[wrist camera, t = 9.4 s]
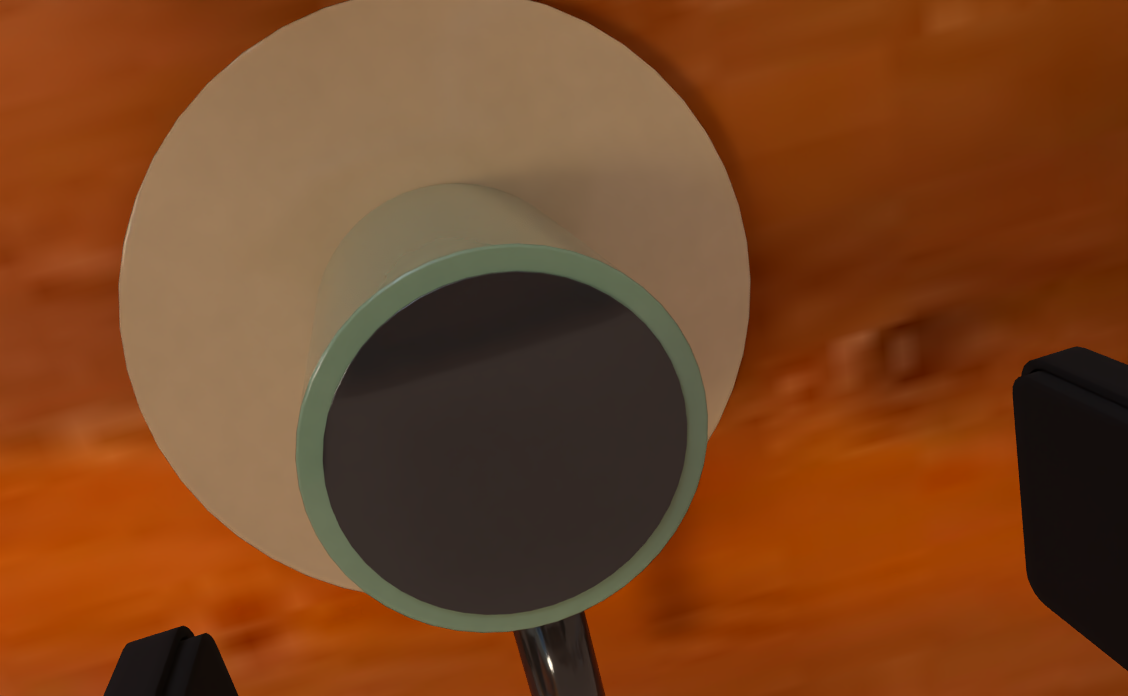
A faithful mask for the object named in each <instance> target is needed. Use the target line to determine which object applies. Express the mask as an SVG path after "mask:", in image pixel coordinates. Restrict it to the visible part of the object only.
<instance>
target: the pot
mask: <svg viewBox="0 0 1128 696" xmlns="http://www.w3.org/2000/svg"><path fill="white" fill-rule="evenodd" d="M118 287H119V326H120V333H121V339H122V345H123V350H124V356H125V362H126V368H127V372H128V375H129V378H130V381H131V384H132V387H133V390H134V393H135V396H136V399H137V402H138V405H139V408H140V411H141V413H142V415H143V417H144V419H145V421H146V423H147V425H148V427H149V429H150V431H151V433H152V435H153V437H154V439H155V441H156V443H157V445H158V447H159V449H160V450H161V452H162V453H163V455H164V456H165V458H166V459H167V461H168V462H169V463H170V465H171V466H172V468H173V469H174V471H175V472H176V474H177V475H178V477H179V478H180V480H181V481H182V482H183V483H184V484H185V485H186V487H187V488H188V489H189V490H190V491H191V492H192V493H193V494H194V496H195V497H196V498H197V499H198V500H199V501H200V502H201V503H202V504H203V506H204V507H205V508H206V509H207V510H208V511H209V512H210V513H211V514H213V515H214V516H215V517H216V518H217V519H218V520H220V521H221V522H222V523H223V524H224V525H225V526H227V527H228V528H229V529H230V530H231V531H232V532H234V533H235V534H236V535H237V536H238V537H240V538H241V539H243V540H244V541H246V542H247V543H249V544H250V545H252V546H253V547H255V548H256V549H258V550H260V551H261V552H263V553H264V554H266V555H267V556H269V557H270V558H272V559H274V560H276V561H278V562H280V563H282V564H284V565H286V566H288V567H290V568H292V569H294V570H297V571H299V572H301V573H303V574H305V575H307V576H310V577H313V578H316V579H319V580H322V581H324V582H327V583H330V584H333V585H336V586H339V587H342V588H346V589H351V590H356V591H360V592H365V593H367V594H368V595H370V596H371V597H373V598H374V599H376V600H377V601H379V602H380V603H382V604H383V605H385V606H386V607H388V608H390V609H392V610H394V611H396V612H398V613H400V614H403V615H405V616H407V617H409V618H412V619H415V620H418V621H421V622H423V623H426V624H429V625H432V626H437V627H442V628H447V629H452V630H457V631H468V632H480V633H487V632H510V631H513V632H514V636H515V639H516V643H517V646H518V650H519V653H520V657H521V660H522V664H523V667H524V671H525V674H526V678H527V681H528V685H529V688H530V692H531V695H532V696H605V692H604V688H603V684H602V680H601V676H600V672H599V668H598V664H597V660H596V656H595V652H594V648H593V644H592V640H591V636H590V632H589V628H588V624H587V621H586V617H585V613H584V610H586V609H588V608H590V607H592V606H594V605H596V604H598V603H599V602H601V601H603V600H605V599H606V598H608V597H609V596H611V595H612V594H614V593H615V592H617V591H618V590H620V589H621V588H623V587H624V586H625V585H626V584H628V583H629V582H630V581H631V580H632V579H633V578H635V577H636V576H637V575H638V574H639V573H641V572H642V571H643V570H644V569H645V568H646V567H647V566H648V565H649V564H650V562H651V561H652V560H653V559H654V558H655V557H656V556H657V555H658V554H659V553H660V552H661V550H662V549H663V548H664V546H665V545H666V544H667V542H668V541H669V540H670V538H671V537H672V536H673V534H674V533H675V532H676V530H677V528H678V526H679V525H680V523H681V521H682V519H683V518H684V516H685V514H686V512H687V511H688V508H689V506H690V504H691V501H692V499H693V497H694V494H695V492H696V490H697V487H698V483H699V480H700V476H701V473H702V469H703V466H704V460H705V453H706V447H707V442H708V440H709V439H710V437H711V435H712V433H713V432H714V430H715V428H716V426H717V425H718V423H719V421H720V418H721V416H722V414H723V411H724V409H725V407H726V404H727V402H728V400H729V397H730V395H731V392H732V390H733V387H734V384H735V380H736V377H737V374H738V370H739V367H740V363H741V360H742V356H743V352H744V346H745V340H746V334H747V327H748V321H749V309H750V269H749V258H748V247H747V239H746V235H745V230H744V226H743V221H742V217H741V213H740V208H739V204H738V201H737V198H736V196H735V193H734V190H733V188H732V185H731V182H730V179H729V177H728V174H727V171H726V168H725V166H724V164H723V163H722V161H721V159H720V157H719V155H718V153H717V151H716V149H715V147H714V145H713V144H712V142H711V140H710V138H709V136H708V134H707V132H706V131H705V130H704V128H703V127H702V125H701V124H700V123H699V121H698V120H697V118H696V117H695V115H694V114H693V113H692V111H691V110H690V108H689V107H688V106H687V104H686V103H685V101H684V100H683V99H682V98H681V97H680V96H679V95H678V94H677V93H676V92H675V90H674V89H673V88H672V87H671V86H670V85H669V84H668V83H667V82H666V81H665V80H664V79H663V78H662V77H661V76H660V74H659V73H658V72H657V71H656V70H655V69H653V68H652V67H651V66H650V65H648V64H647V63H646V62H645V61H644V60H642V59H641V58H640V57H639V56H637V55H636V54H635V53H634V52H632V51H631V50H630V49H629V48H627V47H626V46H625V45H624V44H622V43H621V42H619V41H617V40H616V39H614V38H612V37H611V36H609V35H607V34H606V33H604V32H603V31H601V30H599V29H598V28H596V27H594V26H593V25H591V24H589V23H588V22H586V21H583V20H581V19H579V18H576V17H574V16H572V15H569V14H567V13H565V12H562V11H560V10H558V9H556V8H553V7H551V6H549V5H546V4H542V3H539V2H535V1H531V0H348V1H345V2H342V3H338V4H335V5H332V6H328V7H325V8H322V9H320V10H318V11H316V12H314V13H312V14H309V15H307V16H305V17H303V18H301V19H299V20H296V21H294V22H292V23H290V24H288V25H286V26H283V27H281V28H280V29H278V30H277V31H275V32H274V33H272V34H271V35H269V36H267V37H266V38H264V39H263V40H261V41H260V42H258V43H257V44H255V45H254V46H252V47H250V48H249V49H247V50H246V51H244V52H243V53H242V54H240V55H239V56H238V57H237V58H236V59H235V60H234V61H232V62H231V63H230V64H229V65H228V66H227V67H226V68H224V69H223V70H222V71H221V72H220V73H219V74H218V75H216V76H215V77H214V78H213V79H212V80H211V81H210V82H208V83H207V85H206V86H205V87H204V88H203V89H202V90H201V92H200V93H199V94H198V95H197V96H196V97H195V99H194V100H193V101H192V102H191V103H190V104H189V106H188V107H187V108H186V109H185V110H184V111H183V113H182V114H181V115H180V116H179V117H178V119H177V120H176V122H175V123H174V125H173V127H172V128H171V130H170V131H169V133H168V135H167V136H166V138H165V139H164V141H163V143H162V144H161V146H160V147H159V149H158V150H157V152H156V154H155V155H154V157H153V159H152V161H151V164H150V166H149V168H148V171H147V173H146V175H145V177H144V180H143V182H142V184H141V186H140V189H139V191H138V193H137V196H136V198H135V201H134V205H133V209H132V212H131V216H130V220H129V223H128V227H127V231H126V234H125V238H124V242H123V251H122V259H121V267H120V275H119V284H118Z"/></svg>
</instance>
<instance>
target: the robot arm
mask: <svg viewBox="0 0 1128 696" xmlns="http://www.w3.org/2000/svg"><path fill="white" fill-rule="evenodd" d="M1013 405H1014V418H1015V430H1016V443H1017V456H1018V469H1019V481H1020V494H1021V507H1022V520H1023V533H1024V545H1025V558H1026V571H1027V576H1028V580H1029V582H1030V585H1031V587H1032V589H1033V591H1034V593H1035V594H1036V595H1037V597H1038V598H1039V599H1040V600H1041V601H1042V602H1043V603H1044V604H1045V605H1046V606H1047V607H1048V608H1050V609H1051V610H1052V611H1053V612H1055V613H1056V614H1057V615H1058V616H1060V617H1061V618H1062V619H1063V620H1065V621H1066V622H1067V623H1068V624H1070V625H1071V626H1072V627H1073V628H1075V629H1076V630H1077V631H1078V632H1080V633H1081V634H1082V635H1083V636H1085V637H1086V638H1087V639H1088V640H1090V641H1091V642H1092V643H1093V644H1095V645H1096V646H1097V647H1098V648H1100V649H1101V650H1102V651H1103V652H1105V653H1106V654H1107V655H1108V656H1110V657H1111V658H1112V659H1113V660H1115V661H1116V662H1117V663H1118V664H1120V665H1121V666H1122V667H1123V668H1125V669H1126V670H1127V671H1128V365H1126V364H1124V363H1121V362H1119V361H1116V360H1114V359H1111V358H1109V357H1106V356H1103V355H1101V354H1098V353H1096V352H1093V351H1091V350H1088V349H1086V348H1082V347H1073V348H1069V349H1066V350H1063V351H1060V352H1056V353H1053V354H1050V355H1047V356H1044V357H1040V358H1037V359H1034V360H1031V361H1029V362H1028V363H1027V364H1026V365H1025V366H1024V368H1023V371H1022V375H1021V377H1018V378H1017V379H1016V380H1015V382H1014V385H1013ZM104 696H238V694H237V691H236V689H235V687H234V684H233V682H232V680H231V677H230V675H229V673H228V671H227V668H226V666H225V664H224V661H223V659H222V657H221V654H220V652H219V650H218V647H217V645H216V643H215V641H214V639H213V638H212V637H211V636H210V635H209V634H207V633H204V634H201V635H198V636H194V634H193V633H192V632H191V630H190V629H189V628H187V627H185V626H181V627H178V628H174V629H171V630H168V631H165V632H162V633H158V634H155V635H152V636H149V637H146V638H142V639H139V640H136V641H133V642H130V643H128V644H127V645H126V646H125V648H124V649H123V651H122V654H121V656H120V658H119V661H118V663H117V665H116V668H115V670H114V672H113V675H112V677H111V679H110V682H109V684H108V686H107V689H106V691H105V693H104Z"/></svg>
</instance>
